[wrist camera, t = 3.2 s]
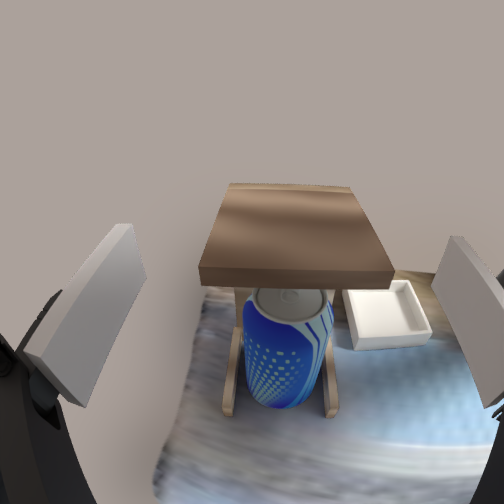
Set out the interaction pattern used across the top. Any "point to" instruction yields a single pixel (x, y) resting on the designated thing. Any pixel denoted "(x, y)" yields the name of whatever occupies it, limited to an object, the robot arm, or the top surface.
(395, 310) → the tray
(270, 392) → the beer can
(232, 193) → the dock
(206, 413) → the top surface
